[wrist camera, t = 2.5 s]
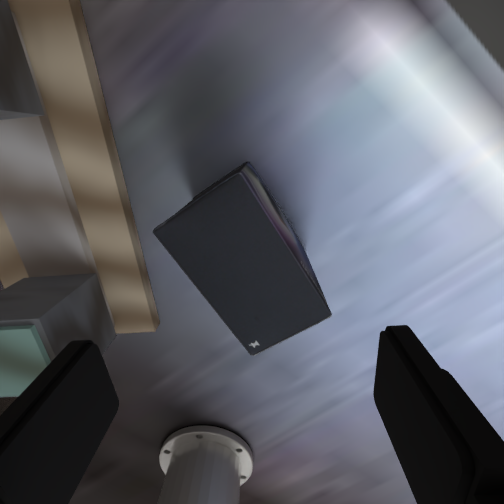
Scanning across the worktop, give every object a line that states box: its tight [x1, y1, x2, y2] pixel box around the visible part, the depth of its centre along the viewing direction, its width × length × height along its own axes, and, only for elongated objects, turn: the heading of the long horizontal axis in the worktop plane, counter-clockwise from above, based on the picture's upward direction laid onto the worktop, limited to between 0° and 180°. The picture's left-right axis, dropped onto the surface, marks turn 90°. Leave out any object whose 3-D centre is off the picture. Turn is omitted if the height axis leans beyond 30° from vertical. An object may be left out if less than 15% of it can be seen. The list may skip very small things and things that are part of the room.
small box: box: [153, 162, 332, 356], centre depth 21 cm, size 11×6×10 cm, turn 33°
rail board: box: [0, 0, 160, 397], centre depth 21 cm, size 28×14×10 cm, turn 5°
